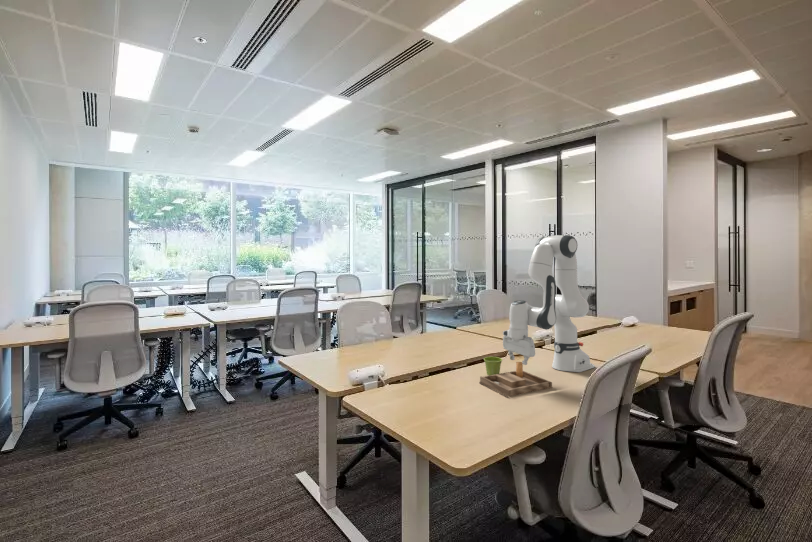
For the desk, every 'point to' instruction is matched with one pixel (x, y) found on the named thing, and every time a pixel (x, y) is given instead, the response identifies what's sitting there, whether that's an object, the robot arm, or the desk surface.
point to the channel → (514, 383)
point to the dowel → (519, 369)
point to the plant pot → (492, 365)
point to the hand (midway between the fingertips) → (518, 362)
